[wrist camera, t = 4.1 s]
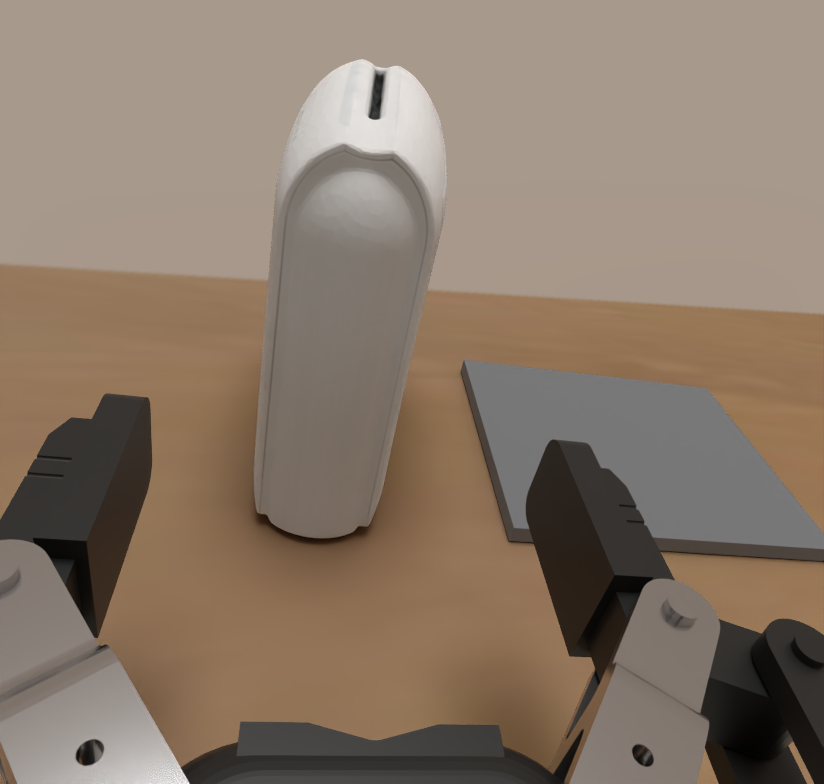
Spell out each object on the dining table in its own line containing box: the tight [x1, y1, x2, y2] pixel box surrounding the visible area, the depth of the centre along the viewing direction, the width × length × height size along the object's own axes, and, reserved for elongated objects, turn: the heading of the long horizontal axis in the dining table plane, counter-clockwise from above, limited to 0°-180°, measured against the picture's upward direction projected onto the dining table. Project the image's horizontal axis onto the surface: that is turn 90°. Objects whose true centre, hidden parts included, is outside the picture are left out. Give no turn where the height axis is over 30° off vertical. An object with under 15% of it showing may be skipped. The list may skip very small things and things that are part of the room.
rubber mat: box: [461, 360, 824, 561], centre depth 26 cm, size 12×10×1 cm
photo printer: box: [254, 59, 447, 538], centre depth 20 cm, size 10×4×12 cm, turn 1°
